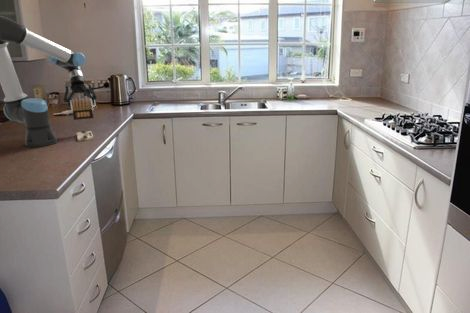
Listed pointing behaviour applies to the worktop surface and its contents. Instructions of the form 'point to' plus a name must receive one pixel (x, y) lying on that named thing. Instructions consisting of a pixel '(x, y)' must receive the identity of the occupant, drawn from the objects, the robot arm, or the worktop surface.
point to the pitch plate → (84, 135)
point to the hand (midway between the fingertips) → (82, 110)
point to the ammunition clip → (78, 110)
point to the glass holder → (87, 97)
